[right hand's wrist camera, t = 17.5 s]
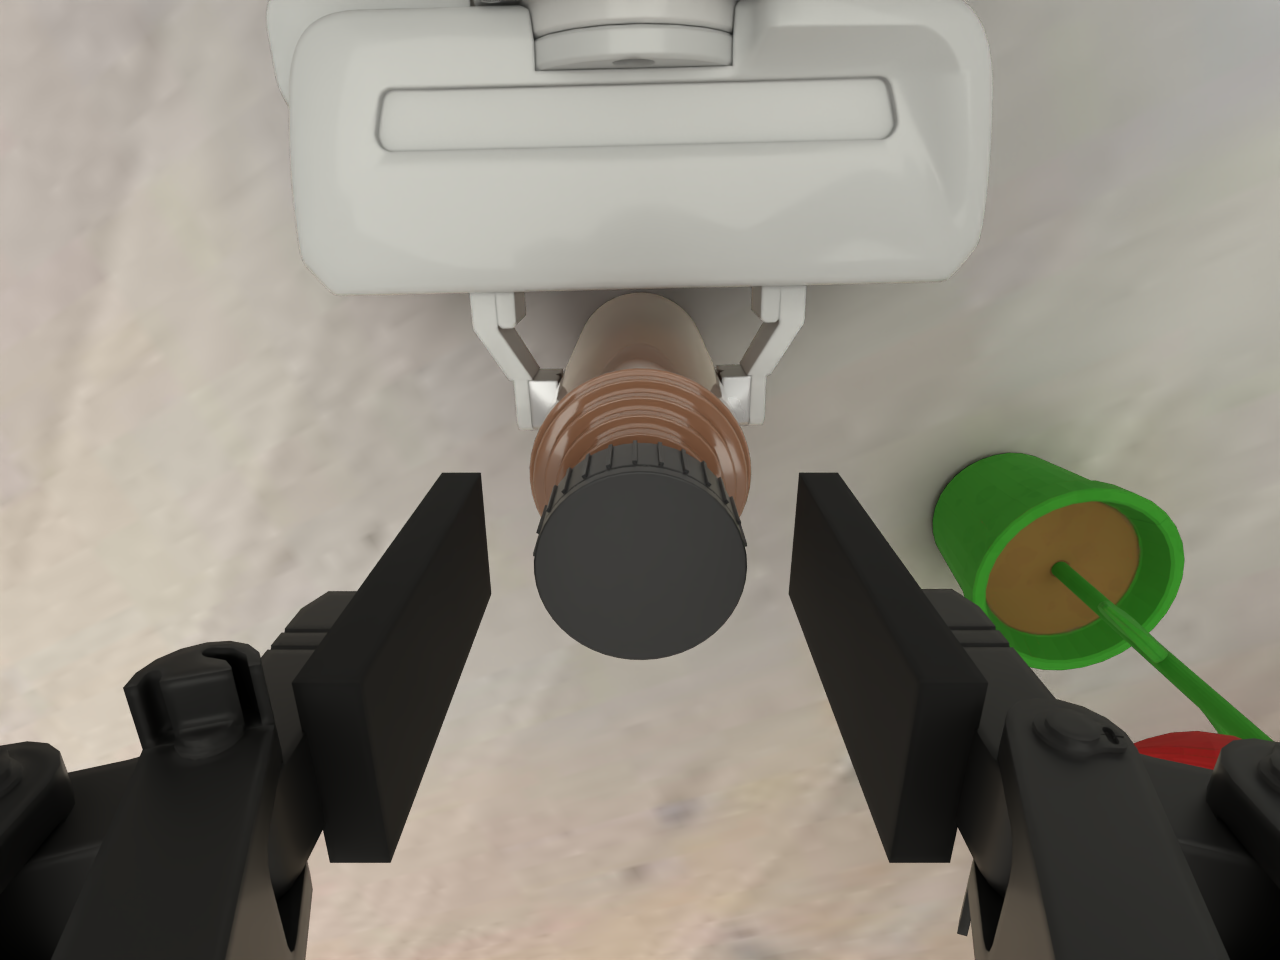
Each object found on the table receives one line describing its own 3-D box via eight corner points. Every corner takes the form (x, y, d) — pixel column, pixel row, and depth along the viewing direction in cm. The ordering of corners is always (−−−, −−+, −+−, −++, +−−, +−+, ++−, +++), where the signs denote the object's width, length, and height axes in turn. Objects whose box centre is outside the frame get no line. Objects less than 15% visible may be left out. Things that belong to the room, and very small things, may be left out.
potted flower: (869, 514, 33) (1403, 1251, 10) (1004, 390, 31) (2083, 961, 8) (999, 629, 36) (1679, 1447, 12) (1133, 520, 33) (2267, 1263, 10)
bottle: (685, 429, 32) (738, 698, 15) (566, 402, 32) (478, 648, 14) (717, 308, 30) (821, 457, 13) (591, 278, 30) (523, 391, 12)
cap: (710, 414, 14) (718, 441, 12) (758, 590, 15) (771, 634, 14) (513, 470, 14) (498, 503, 13) (579, 636, 16) (572, 684, 14)
